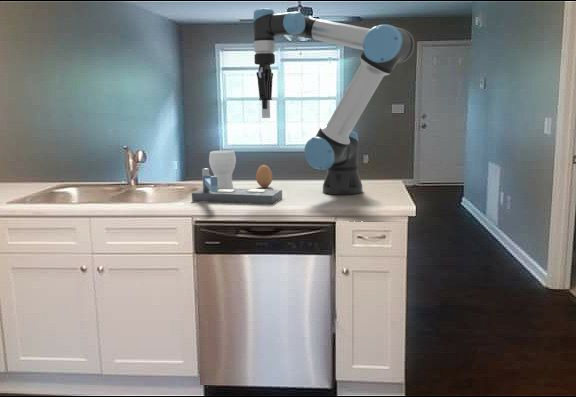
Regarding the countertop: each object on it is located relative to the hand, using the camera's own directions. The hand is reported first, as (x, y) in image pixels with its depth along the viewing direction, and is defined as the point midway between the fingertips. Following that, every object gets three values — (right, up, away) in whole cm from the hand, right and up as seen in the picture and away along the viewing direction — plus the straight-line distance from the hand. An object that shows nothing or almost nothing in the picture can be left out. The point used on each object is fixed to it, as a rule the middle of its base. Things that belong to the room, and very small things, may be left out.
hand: (266, 117), depth 212 cm
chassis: (-10, -31, -9) cm, 34 cm away
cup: (-18, -27, +14) cm, 35 cm away
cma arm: (-18, -28, -19) cm, 38 cm away
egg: (-1, -26, +17) cm, 31 cm away
